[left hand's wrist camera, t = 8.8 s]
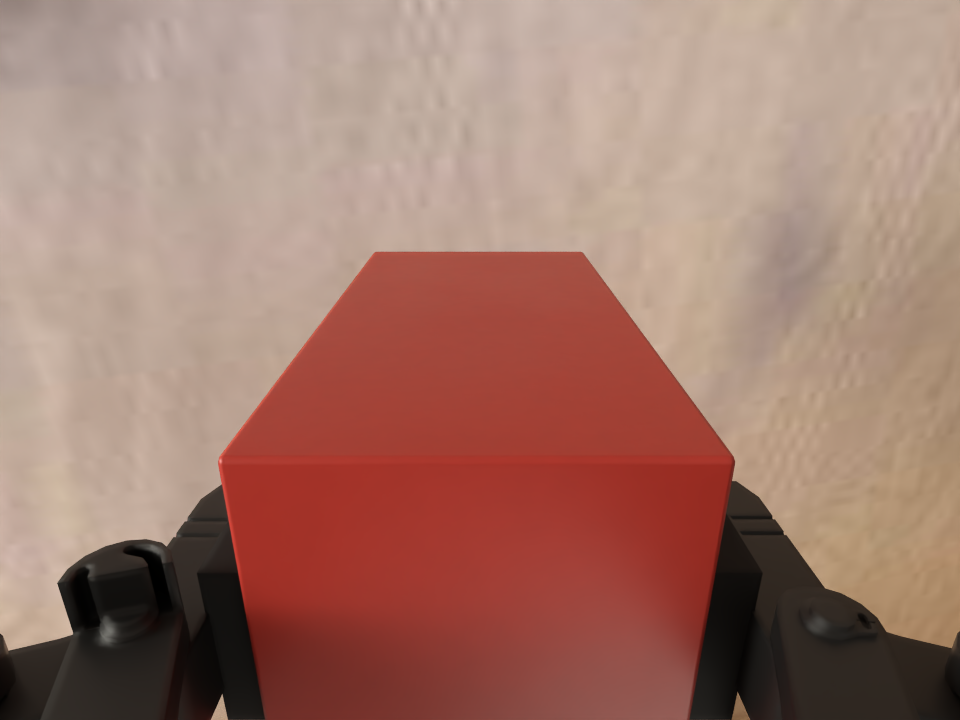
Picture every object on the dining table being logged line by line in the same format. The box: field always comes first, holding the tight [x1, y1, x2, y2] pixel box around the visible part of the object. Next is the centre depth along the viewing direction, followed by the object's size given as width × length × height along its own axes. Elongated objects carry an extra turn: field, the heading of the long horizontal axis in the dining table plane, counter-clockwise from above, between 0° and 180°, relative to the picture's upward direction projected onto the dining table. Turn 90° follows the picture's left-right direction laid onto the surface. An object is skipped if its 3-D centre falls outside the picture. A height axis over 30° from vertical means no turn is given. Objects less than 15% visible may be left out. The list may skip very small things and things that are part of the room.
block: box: [218, 252, 735, 720], centre depth 13 cm, size 6×6×11 cm
